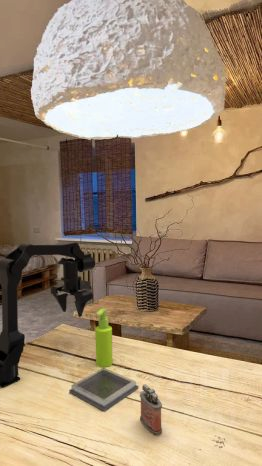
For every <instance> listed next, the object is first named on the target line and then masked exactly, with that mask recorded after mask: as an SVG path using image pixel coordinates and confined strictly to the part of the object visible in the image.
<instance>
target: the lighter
mask: <svg viewBox="0 0 262 466" xmlns="http://www.w3.org/2000/svg"><path fill="white" fill-rule="evenodd" d="M141 387H142V391H140V392H139V397H140V416H139V420H140V422H141V424H142V426H143V427H144V428H145V429H146V430H147V431H148V432H149V433H150V434H152V435H153V436H160V435H162V433H163V428H162V408H163V403H162V402H161V400H160V399H159V395H158V393H156V390H155V389H154V388H151V387H150V386H148V385H147V384H146V383H145V384H142V385H141Z"/></svg>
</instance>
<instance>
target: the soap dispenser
mask: <svg viewBox="0 0 262 466" xmlns="http://www.w3.org/2000/svg"><path fill="white" fill-rule="evenodd" d="M107 311H108V309H107V308H104V307H103V308H100V309H98V311H97V312H96V316H99V317H98V326H96V327H95V328H94V329H95V331H94V332H95V333H94V334H95V336H94V337H95V364H96V366H97V367H99V368H109V367H111V366H112V365H113V362H114V361H113V328H112V326H111V325H109V318H108V317H107V314H106V312H107Z"/></svg>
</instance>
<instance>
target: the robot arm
mask: <svg viewBox="0 0 262 466" xmlns="http://www.w3.org/2000/svg"><path fill="white" fill-rule="evenodd" d="M53 255H55V256H56V255H57V256H60V257H61V256H62V257H61V258H60V260H58V262H57V265H62V277H60V281H62V282H63V283H60V284H56V285H52V287H51V288H50V294H51V295H52V296H53V297H54V299H55V300H56V301H57V303H58V305H59V306H60V308H61V310H62V312H63V313H66V312H67V304H68V303H67V301H68V299H67V298H68V296H69V295H70V296H73V297H74V305H75V309H76V312H77V315H78V317H79V318H81V317H82V316H83V314H84V311H85V307H86V304H87V303H88V302H90V301H91V300H92V299H94V292H93V291H91V290H90V288H91V284H92V281H87V280H83V279H82V277H81V276H80V275H79V273H84V272H87V271H92V270H94V269H95V267H96V262H95V259H94V257H93V256H92V253H89V252H86V253H84V252H83V251H82V249H81V247H80V245H79V243H78V242H75V241H66V240H65V241H60V242H57V243H50V244H49V243H41V244H40V243H21V244H19V245H18V246H17V248H15V249H14V250H13V251H11V252H9V253H8V254H7V255H5V257H4V258H2V259H0V286H1V312H2V313H1V318H2V320H1V321H2V323H1V326H2V330H1V332H0V387H1V388H6V387H7V386H10V385H12V384H14V383H16V382H18V381H19V380H21V377H20V376H19V375H20V374H19V364H20V361H21V358H22V354H23V352H24V349H25V347H26V343H25V339H26V335H25V333H23V332H21V331H19V323H18V322H19V321H18V320H19V317H18V316H19V314H18V313H19V312H18V311H19V309H18V308H19V307H18V303H19V302H18V300H19V299H18V288H19V284H20V282H21V280H22V278H23V277H22V276H23V270H24V269H25V268H26V267H27V266H28V264H29V262H30V260H31V258H32V256H53Z"/></svg>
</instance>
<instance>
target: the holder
mask: <svg viewBox="0 0 262 466" xmlns="http://www.w3.org/2000/svg"><path fill="white" fill-rule="evenodd" d="M138 389H139V385H137V381H135V380H133V379H131V378H128V377H126V376H124V375H121V374H119V373H117V372H115V371H112V370H110V369H108V368H107V367H101V369H99V370H97V371H95V372H93V373H91V374H89V375H88V376H86V377H84V378H83V379H80V380H79V381H76V382H75V383H73V384H72V385H71V389H69V394H71V395H73V396H75V397H77V398H79V399H80V400H82V401H84V402H86V403H88V404H89V405H91V406H93V407H94V408H97V409H99V410H100V411H101V412H104V413H105V412H107V411H108V410H109V409H110V408H112V407H114V406H115V405H117V404H118V403H120V402H121V401H122V400H123V399H125V398H127V397H128V396H130V395H131V394H133V392H136V391H137V390H138Z"/></svg>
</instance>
